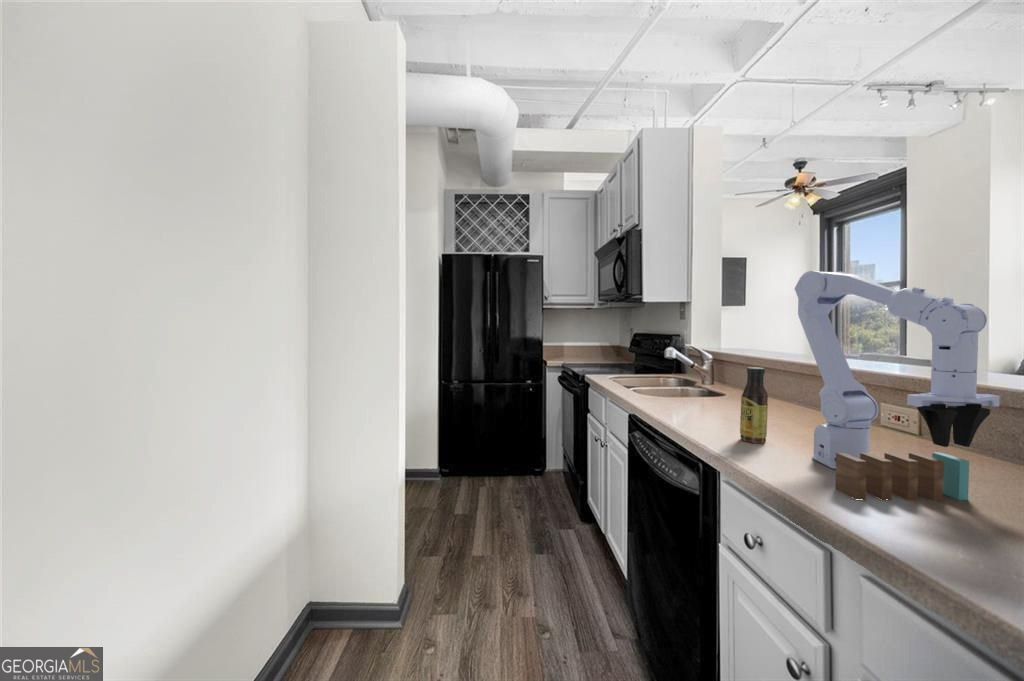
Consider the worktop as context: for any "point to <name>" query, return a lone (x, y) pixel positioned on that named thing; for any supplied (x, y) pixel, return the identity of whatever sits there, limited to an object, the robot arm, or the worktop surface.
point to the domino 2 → (878, 476)
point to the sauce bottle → (754, 408)
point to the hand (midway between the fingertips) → (951, 445)
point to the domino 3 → (903, 476)
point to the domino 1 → (850, 476)
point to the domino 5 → (954, 476)
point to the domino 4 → (929, 476)
